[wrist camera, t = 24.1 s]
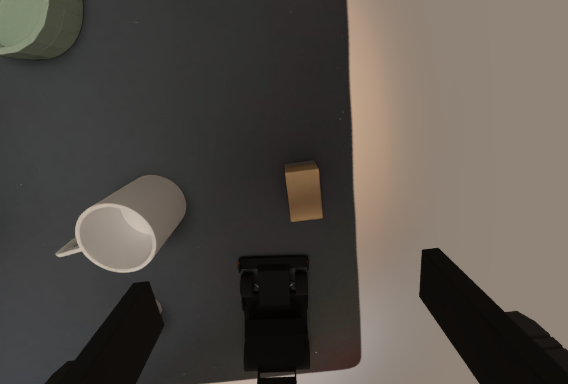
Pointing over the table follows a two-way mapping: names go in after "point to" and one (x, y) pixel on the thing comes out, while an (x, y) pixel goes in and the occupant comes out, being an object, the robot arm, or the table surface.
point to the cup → (129, 224)
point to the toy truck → (275, 317)
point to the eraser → (303, 190)
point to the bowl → (39, 27)
